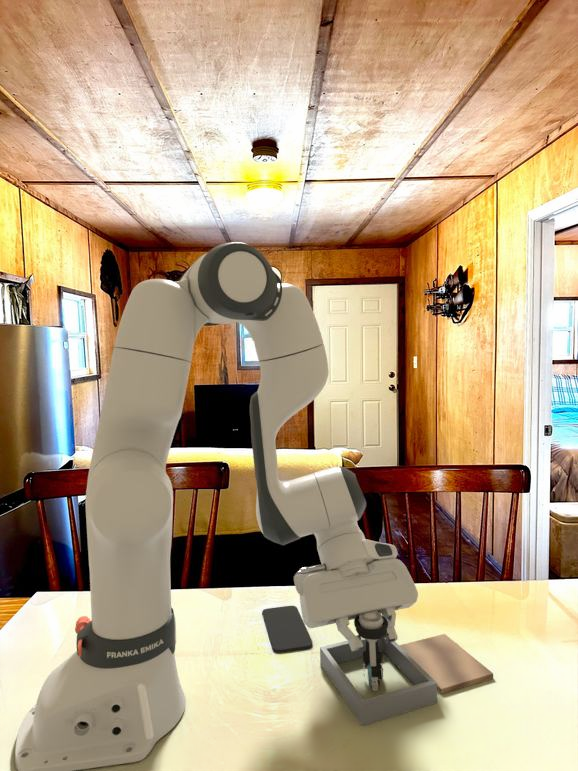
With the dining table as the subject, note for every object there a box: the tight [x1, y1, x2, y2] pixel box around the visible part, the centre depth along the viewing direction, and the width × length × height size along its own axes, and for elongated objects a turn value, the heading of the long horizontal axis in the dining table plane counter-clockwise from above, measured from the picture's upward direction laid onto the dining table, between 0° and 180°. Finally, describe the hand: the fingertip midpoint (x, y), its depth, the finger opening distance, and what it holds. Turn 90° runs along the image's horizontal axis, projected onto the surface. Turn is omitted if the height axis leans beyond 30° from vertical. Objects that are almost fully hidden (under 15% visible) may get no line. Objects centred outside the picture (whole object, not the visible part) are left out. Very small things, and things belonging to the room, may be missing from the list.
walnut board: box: [398, 633, 494, 695], centre depth 80 cm, size 10×12×1 cm
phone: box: [261, 605, 313, 654], centre depth 91 cm, size 7×1×15 cm
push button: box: [353, 611, 388, 692], centre depth 75 cm, size 7×5×10 cm
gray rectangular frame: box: [319, 636, 438, 727], centre depth 75 cm, size 13×15×3 cm
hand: (375, 645), depth 74 cm, fingers closed on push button, 5 cm apart
